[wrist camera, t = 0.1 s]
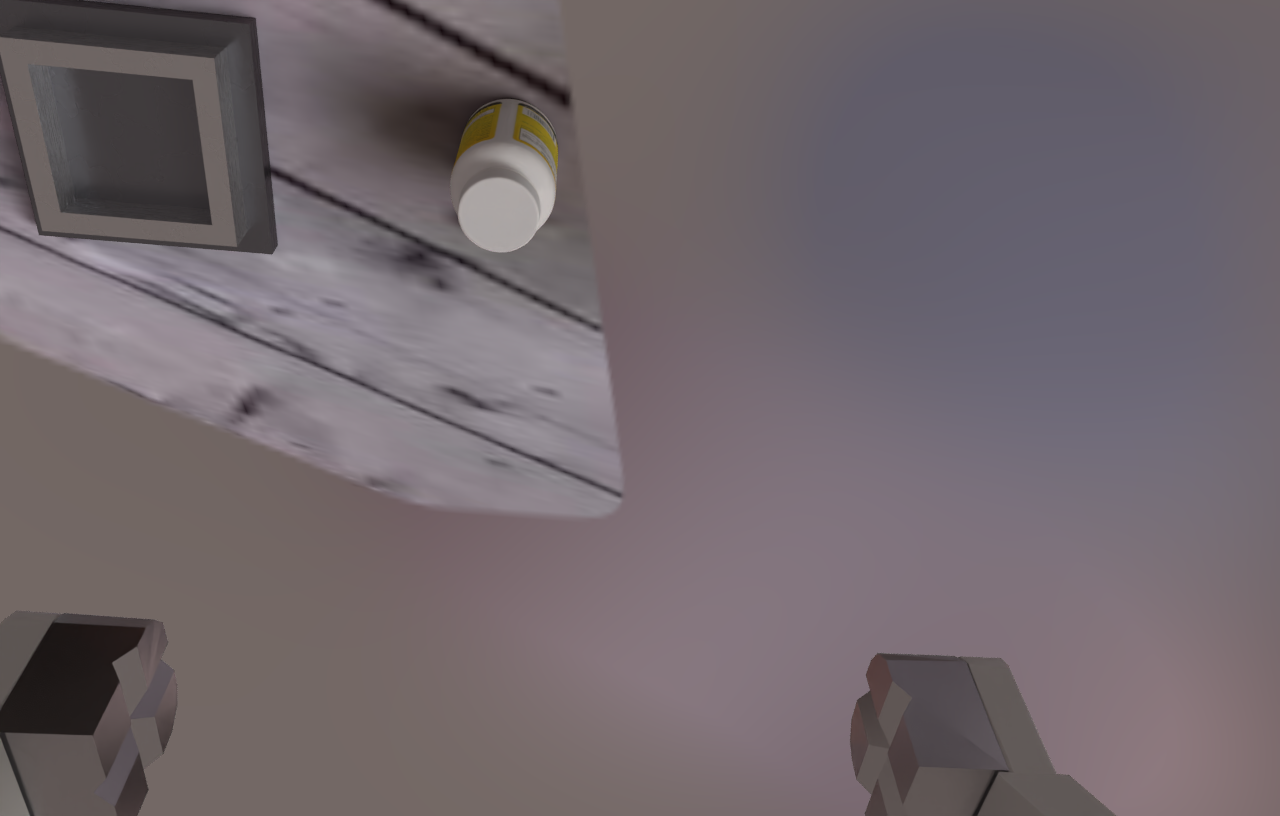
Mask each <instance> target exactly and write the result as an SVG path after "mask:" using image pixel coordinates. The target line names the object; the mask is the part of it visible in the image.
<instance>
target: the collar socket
mask: <svg viewBox="0 0 1280 816" xmlns="http://www.w3.org/2000/svg"><path fill="white" fill-rule="evenodd" d="M0 74H1V78H2V82H3V87H4V91H5V95H6V99H7V103H8V108H9V112H10V116H11V120H12V124H13V128H14V133H15V137H16V141H17V145H18V149H19V153H20V158H21V162H22V166H23V170H24V174H25V178H26V183H27V187H28V191H29V195H30V199H31V203H32V208H33V212H34V216H35V220H36V224H37V229H38V233H39V235H44V236H56V237H69V238H81V239H93V240H105V241H117V242H130V243H142V244H154V245H166V246H178V247H191V248H203V249H215V250H227V251H239V252H252V253H264V254H273V252H274V251H275V249H276V247H277V246H278V244H277V233H276V223H275V213H274V203H273V192H272V182H271V172H270V162H269V151H268V141H267V131H266V121H265V110H264V100H263V90H262V79H261V69H260V59H259V49H258V38H257V28H256V18H247V17H237V16H227V15H218V14H208V13H198V12H188V11H179V10H169V9H159V8H149V7H140V6H130V5H120V4H111V3H101V2H91V1H81V0H0Z"/></svg>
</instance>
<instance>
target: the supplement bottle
mask: <svg viewBox="0 0 1280 816" xmlns="http://www.w3.org/2000/svg"><path fill="white" fill-rule="evenodd" d="M557 162H558V144H557V138H556V134H555V131H554V128H553V126H552V125H551V123H550V121H549V120H548V119H547V117H546V116H545V115H544V114H543V113H542V112H541V111H540V110H538V109H537V108H536V107H534V106H532V105H531V104H528V103H526V102H523V101H520V100H515V99H500V100H495V101H492V102H489V103H487V104H485V105H483V106H482V107H480V108H479V109H478V110H477V111H476V112H475V113H474V114H473V115H472V116H471V117H470V119H469V120H468V122H467V124H466V126H465V129H464V131H463V135H462V138H461V142H460V146H459V150H458V153H457V157H456V160H455V164H454V167H453V170H452V174H451V180H450V194H451V200H452V204H453V207H454V209H455V211H456V213H457V214H458V220H459V224H460V226H461V228H462V230H463V232H464V234H465V235H466V236H467V237H468V239H470V240H471V241H472V242H473V243H474V244H476V245H477V246H479V247H481V248H483V249H485V250H489V251H493V252H509V251H513V250H516V249H518V248H520V247H522V246H524V245H525V244H526V243H528V242H529V241H530V240H531V238H532V237H533V236H534V234H535V232H536V231H537V230H538V229H539V228H540V227H541V226H542V225H543V224H544V223H545V222H546V220H547V219H548V217H549V215H550V213H551V211H552V209H553V205H554V201H555V194H556V179H557Z"/></svg>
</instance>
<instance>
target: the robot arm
mask: <svg viewBox="0 0 1280 816" xmlns="http://www.w3.org/2000/svg"><path fill="white" fill-rule="evenodd" d="M167 645H168V640H167V636H166V632H165V629H164V625H163V622H161V621H157V620H151V619H137V618H123V617H109V616H95V615H81V614H68V613H67V614H66V613H64V614H60V613H59V614H58V613H44V612H30V611H29V612H28V611H15V612H14V613H12V614H11V615H10V616H8V617H7V618H5V619H4V620H3V621H2V622H1V623H0V816H138V813H139V811H140V809H141V806H142V804H143V802H144V799H145V797H146V795H147V792H148V785H147V781H146V777H145V773H144V769H145V768H146V767H148V766H149V765H150V764H151V763H153V762H154V761H155V760H157V759H158V758H159V757H160V756H162V755H163V754H164V751H165V748H166V746H167V743H168V741H169V738H170V736H171V733H172V730H173V725H174V720H175V715H176V710H177V704H178V701H177V681H176V676H175V671H174V670H173V669H172V668H171V667H170V666H169V665H167V664H166V663H165V662H164V661H163V660H161V658H162V656H163V653H164V651H165V649H166V647H167ZM866 677H867V681H868V684H869V688H870V691H869V692H868V693H866V694H865V695H864V696H862V697H861V698H859V699H858V700H857V702H856V706H855V709H854V713H853V716H852V720H851V735H850V746H851V756H852V762H853V766H854V771H855V775H856V779H857V781H858V782H859V783H860V784H862V786H863V787H864V788H865V789H866V790H867V791H868V792H869V793H870V794H871V798H870V801H869V803H868V806H867V809H866V812H865V816H1116V815H1115V814H1114V813H1113V812H1111V811H1110V810H1109V809H1108V808H1107V807H1106V806H1104V805H1103V804H1102V803H1101V802H1100V801H1099V800H1097V799H1096V798H1095V797H1094V796H1093V795H1092V794H1091V793H1089V792H1088V791H1087V790H1086V789H1085V788H1084V787H1082V786H1081V785H1080V784H1079V783H1078V782H1077V781H1075V780H1074V779H1073V778H1072V777H1071V776H1070V775H1063V774H1056V772H1055V769H1054V767H1053V765H1052V763H1051V760H1050V758H1049V756H1048V754H1047V751H1046V749H1045V747H1044V745H1043V742H1042V740H1041V738H1040V736H1039V733H1038V731H1037V729H1036V727H1035V724H1034V722H1033V720H1032V718H1031V715H1030V713H1029V711H1028V709H1027V706H1026V705H1025V702H1024V700H1023V697H1022V695H1021V693H1020V691H1019V689H1018V686H1017V684H1016V682H1015V679H1014V677H1013V675H1012V673H1011V670H1010V668H1009V666H1008V665H1007V664H1006V663H1005V662H1004V661H1003V660H1002V659H1001V658H982V657H955V656H941V655H913V654H884V653H877V654H876V655H875V657H874V658H873V659H872V660H871V662H870V665H869V667H868V670H867V673H866Z"/></svg>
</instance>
